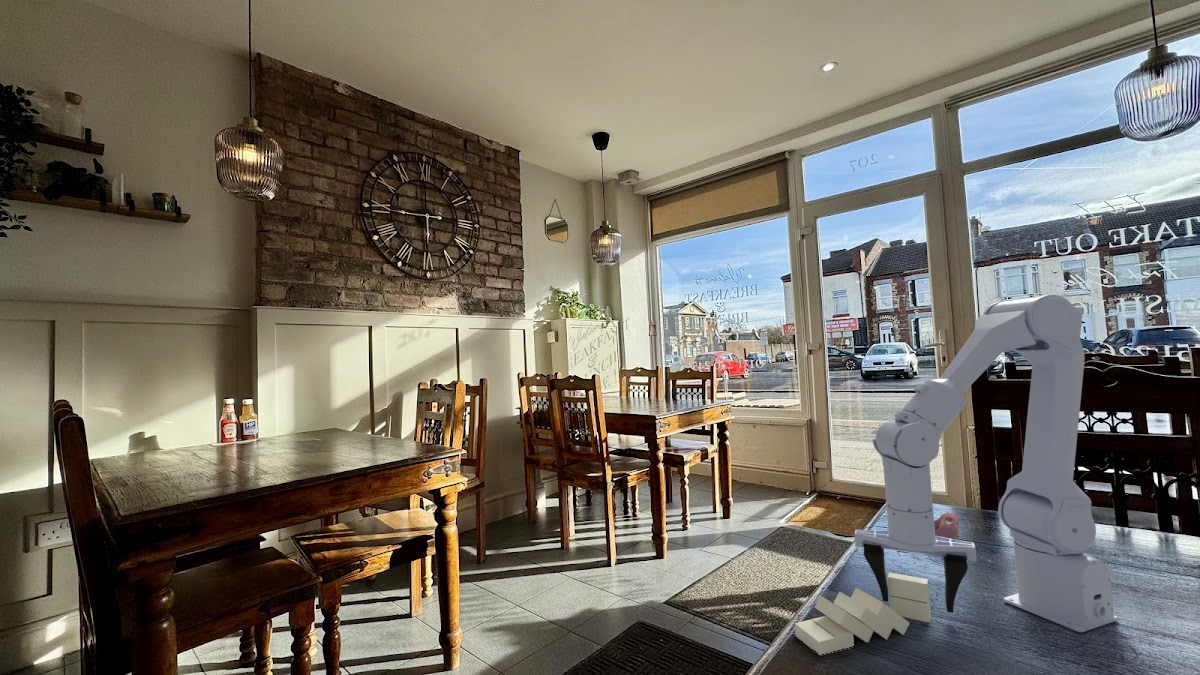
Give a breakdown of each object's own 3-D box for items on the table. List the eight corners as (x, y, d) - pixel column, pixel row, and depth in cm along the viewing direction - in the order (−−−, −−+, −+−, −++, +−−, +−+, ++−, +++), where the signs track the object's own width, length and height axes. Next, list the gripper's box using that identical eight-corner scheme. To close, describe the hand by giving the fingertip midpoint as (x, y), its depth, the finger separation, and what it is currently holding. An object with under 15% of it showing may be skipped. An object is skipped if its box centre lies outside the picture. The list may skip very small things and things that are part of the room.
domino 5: (930, 617, 71) (927, 579, 71) (930, 622, 70) (927, 584, 70) (891, 608, 74) (889, 572, 74) (890, 613, 73) (887, 576, 73)
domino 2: (873, 630, 66) (846, 611, 65) (867, 643, 66) (839, 624, 65) (846, 613, 71) (820, 595, 70) (840, 625, 70) (814, 607, 69)
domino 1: (853, 633, 65) (819, 641, 64) (854, 647, 65) (820, 656, 64) (826, 615, 70) (794, 623, 68) (827, 629, 70) (795, 636, 68)
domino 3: (893, 627, 67) (866, 607, 66) (886, 639, 66) (859, 619, 65) (865, 610, 71) (839, 591, 70) (858, 622, 71) (833, 603, 70)
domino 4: (909, 622, 67) (883, 603, 66) (903, 635, 67) (877, 615, 66) (880, 606, 72) (856, 587, 71) (874, 617, 72) (849, 599, 71)
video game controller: (947, 562, 92) (965, 530, 90) (919, 546, 94) (937, 515, 93) (949, 544, 100) (966, 514, 98) (924, 530, 102) (940, 501, 101)
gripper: (968, 503, 72) (976, 601, 71) (854, 494, 79) (860, 582, 79) (975, 518, 66) (983, 625, 65) (851, 507, 73) (858, 603, 73)
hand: (916, 603), depth 72 cm, fingers open, 7 cm apart
